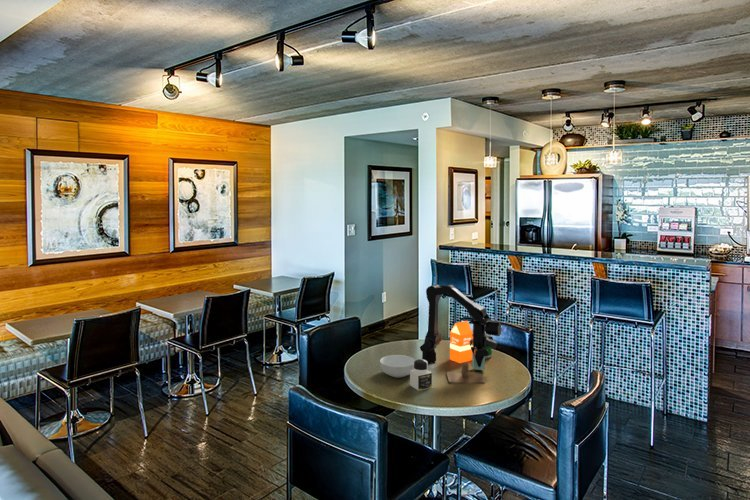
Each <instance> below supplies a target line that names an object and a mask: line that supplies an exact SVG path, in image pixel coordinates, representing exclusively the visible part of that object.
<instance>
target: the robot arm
mask: <svg viewBox="0 0 750 500" xmlns="http://www.w3.org/2000/svg"><path fill="white" fill-rule="evenodd" d="M425 293H426V294H425V295H426V299H427V302H428V317H427V318H428V322H427V331H426V335H425V337H424V343H423V344H421V345H420V346H419V349H420V352H421V356H422V357H421V359H423V360H426V361H427V362H428V364H436V361H437V352H436V350H435V349H437V346H439V345H440V343H441V341H442V339H441V338H442V333H440V332H439V331H438V317H439V303H440V300H441V297H442V295H446V294H447V295H448V296H450V297H451V298H452V299H453V300H455V301H456V302H457V303H458V304H459V305H461V306H462V307H463V308H465V310H466V311H467V313H468V315H469V316H470V317H471V320H470V321H468V323H469V325H470V324H472V332H473V334H472V337H473V339H471V340H470V341H469V345H470V346H471V345H472V347H471V350H472V353H474V356H475V359H476V362H477V365H478V367H481V364H482V360H483V357H484V356H489V352H488V350H487V349H486V348H483V347H486V346H488V347H490V348H492V350H496V347H497V345H498V342H497V341H496V340H495V339H494V337H493V336H496V337H500V336H501V334H502V329H503V327H502V324H501V321H499V320H498V321H497V320H496V321H493V320H492V319H491V318H490V316H489V315H488V314H489V313H487V312H488V311H487V308H485V306H482V305H480V304H479V303H476V302H474V301H472V300H471V299H469V297H467V296H466V295H464V294H463V293H462V292H461V291H460V290H459V289H457V287H455V286H454V285H453V284H448V285H447V284H446V285H445V284H444V285H443V284H442V285H440V284H433V285H430V286H428V287H427V288H426V290H425ZM485 333H487V334H488V335H491V336H492V337H491V336H489V337H488V338H486V336H485Z"/></svg>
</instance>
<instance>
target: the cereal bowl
mask: <svg viewBox="0 0 750 500" xmlns="http://www.w3.org/2000/svg"><path fill="white" fill-rule="evenodd" d="M415 360H416V359H415V358H413V357H412V356H410V355H404V354H391V355H390V354H389V355H386V356H383V357H382V358H381V359H379V366H380V370H381V371H382V372H383V373H385V374H386V375H388V376H389V377H393V378H396V379H397V378H399V379H400V378H404V377H406V376H410V370H414V361H415Z"/></svg>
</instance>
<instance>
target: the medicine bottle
mask: <svg viewBox="0 0 750 500" xmlns="http://www.w3.org/2000/svg"><path fill="white" fill-rule="evenodd" d="M428 365H429V363H428V362H427V361H426V360H423V359H422V358H420V359H415V361H414V370H410V374H409V385H410V387H412V388H414V389H415V390H417V391H419V392H420V391H424V390H429V389H432V387H433V384H432V383H433V372H431V371H430V370H429V367H428Z"/></svg>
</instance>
